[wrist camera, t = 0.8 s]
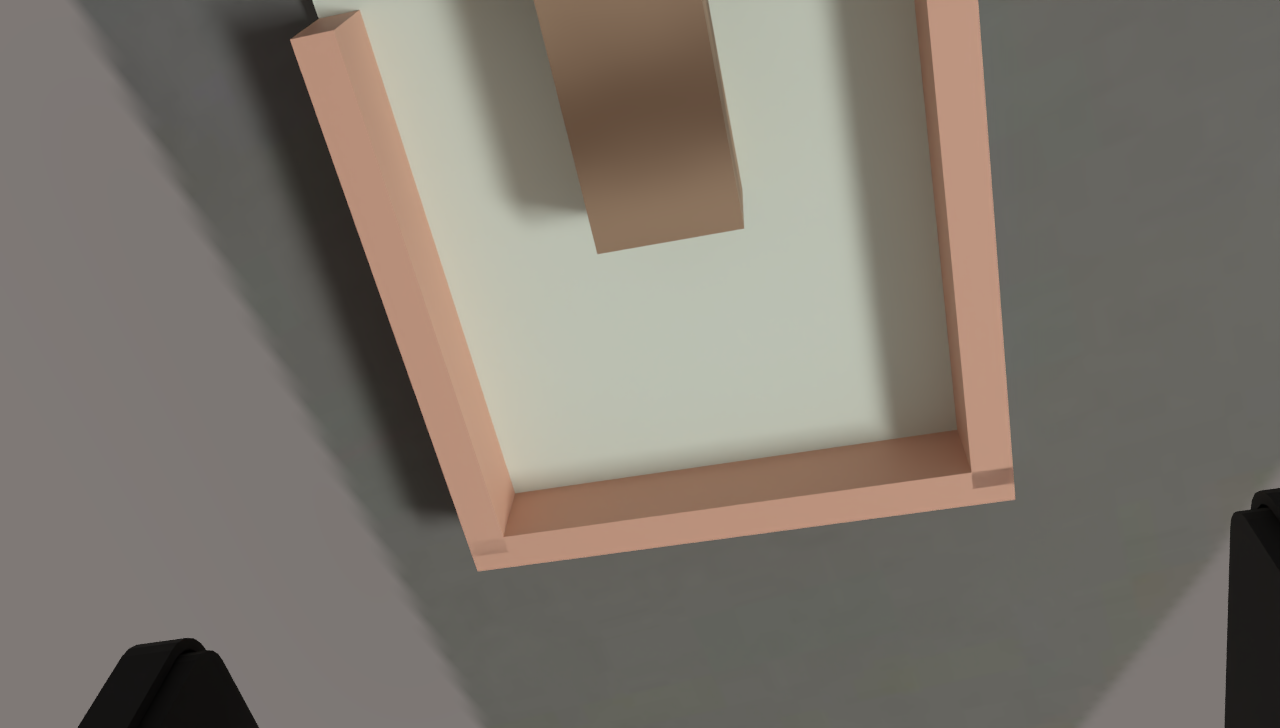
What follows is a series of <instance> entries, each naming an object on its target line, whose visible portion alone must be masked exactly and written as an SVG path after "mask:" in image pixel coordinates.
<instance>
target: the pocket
mask: <svg viewBox="0 0 1280 728" xmlns="http://www.w3.org/2000/svg"><path fill="white" fill-rule="evenodd" d="M914 3H915V13H916V23H917V33H918V43H919V53H920V63H921V73H922V83H923V93H924V103H925V113H926V123H927V133H928V143H929V153H930V163H931V173H932V183H933V193H934V203H935V213H936V223H937V233H938V243H939V253H940V263H941V273H942V283H943V293H944V303H945V313H946V323H947V333H948V343H949V353H950V363H951V373H952V383H953V393H954V403H955V413H956V423H957V430H952V431H945V432H938V433H931V434H925V435H918V436H911V437H904V438H897V439H890V440H883V441H876V442H869V443H862V444H855V445H848V446H841V447H834V448H827V449H820V450H813V451H806V452H799V453H793V454H786V455H779V456H772V457H765V458H758V459H751V460H744V461H737V462H730V463H723V464H716V465H709V466H702V467H695V468H688V469H681V470H674V471H667V472H661V473H654V474H647V475H640V476H633V477H626V478H619V479H612V480H605V481H598V482H591V483H584V484H577V485H570V486H563V487H556V488H549V489H542V490H535V491H529V492H522V493H515V491H514V488H513V485H512V482H511V479H510V476H509V473H508V469H507V466H506V463H505V460H504V457H503V454H502V451H501V448H500V445H499V441H498V438H497V435H496V432H495V429H494V426H493V423H492V420H491V417H490V413H489V410H488V407H487V404H486V401H485V398H484V395H483V392H482V388H481V385H480V382H479V379H478V376H477V373H476V370H475V367H474V364H473V360H472V357H471V354H470V351H469V348H468V345H467V342H466V339H465V336H464V332H463V329H462V326H461V323H460V320H459V317H458V314H457V311H456V308H455V304H454V301H453V298H452V295H451V292H450V289H449V286H448V283H447V280H446V276H445V273H444V270H443V267H442V264H441V261H440V258H439V255H438V252H437V248H436V245H435V242H434V239H433V236H432V233H431V230H430V227H429V224H428V220H427V217H426V214H425V211H424V208H423V205H422V202H421V199H420V196H419V192H418V189H417V186H416V183H415V180H414V177H413V174H412V171H411V168H410V164H409V161H408V158H407V155H406V152H405V149H404V146H403V143H402V140H401V136H400V133H399V130H398V127H397V124H396V121H395V118H394V115H393V112H392V108H391V105H390V102H389V99H388V96H387V93H386V90H385V87H384V84H383V80H382V77H381V74H380V71H379V68H378V65H377V62H376V59H375V56H374V52H373V49H372V46H371V43H370V40H369V37H368V34H367V31H366V28H365V24H364V21H363V18H362V15H361V12H360V10H357V11H353V12H348V13H343V14H339V15H334V16H329V17H325V18H320V19H318V20H316V21H315V22H314V23H312V24H311V25H309V26H308V27H307V28H305V29H304V30H302V31H301V32H300V33H298V34H297V35H295V36H294V37H293V38H291V39H290V41H291V44H292V47H293V50H294V53H295V56H296V58H297V61H298V64H299V67H300V70H301V73H302V75H303V78H304V81H305V84H306V87H307V90H308V92H309V95H310V98H311V101H312V104H313V107H314V109H315V112H316V115H317V118H318V121H319V124H320V126H321V129H322V132H323V135H324V138H325V141H326V143H327V146H328V149H329V152H330V155H331V157H332V160H333V163H334V166H335V169H336V172H337V174H338V177H339V180H340V183H341V186H342V189H343V191H344V194H345V197H346V200H347V203H348V206H349V208H350V211H351V214H352V217H353V220H354V223H355V225H356V228H357V231H358V234H359V237H360V240H361V242H362V245H363V248H364V251H365V254H366V256H367V259H368V262H369V265H370V268H371V271H372V273H373V276H374V279H375V282H376V285H377V288H378V290H379V293H380V296H381V299H382V302H383V305H384V307H385V310H386V313H387V316H388V319H389V322H390V324H391V327H392V330H393V333H394V336H395V339H396V341H397V344H398V347H399V350H400V353H401V356H402V358H403V361H404V364H405V367H406V370H407V372H408V375H409V378H410V381H411V384H412V387H413V389H414V392H415V395H416V398H417V401H418V404H419V406H420V409H421V412H422V415H423V418H424V421H425V423H426V426H427V429H428V432H429V435H430V438H431V440H432V443H433V446H434V449H435V452H436V455H437V457H438V460H439V463H440V466H441V469H442V471H443V474H444V477H445V480H446V483H447V486H448V488H449V491H450V494H451V497H452V500H453V503H454V505H455V508H456V511H457V514H458V517H459V520H460V522H461V525H462V528H463V531H464V534H465V537H466V539H467V542H468V545H469V548H470V551H471V554H472V556H473V559H474V562H475V565H476V568H477V571H484V570H492V569H499V568H507V567H514V566H522V565H529V564H537V563H544V562H552V561H559V560H567V559H574V558H582V557H589V556H597V555H604V554H612V553H619V552H627V551H634V550H642V549H649V548H657V547H664V546H671V545H679V544H686V543H694V542H701V541H709V540H716V539H724V538H731V537H739V536H746V535H754V534H761V533H769V532H776V531H784V530H791V529H799V528H806V527H814V526H821V525H829V524H836V523H844V522H851V521H858V520H866V519H873V518H881V517H888V516H896V515H903V514H911V513H918V512H926V511H933V510H941V509H948V508H956V507H963V506H971V505H978V504H986V503H993V502H1001V501H1008V500H1015V489H1014V476H1013V463H1012V449H1011V436H1010V422H1009V409H1008V396H1007V382H1006V369H1005V355H1004V342H1003V329H1002V315H1001V302H1000V288H999V275H998V262H997V248H996V235H995V222H994V208H993V195H992V181H991V168H990V155H989V141H988V128H987V114H986V101H985V88H984V74H983V61H982V47H981V34H980V21H979V7H978V0H914Z"/></svg>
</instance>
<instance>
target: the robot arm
mask: <svg viewBox="0 0 1280 728" xmlns="http://www.w3.org/2000/svg"><path fill="white" fill-rule="evenodd" d="M1229 561H1230V562H1229V594H1228V595H1229V596H1228V629H1227V630H1228V631H1227V665H1226V666H1227V667H1226V697H1225V728H1280V488H1277V489H1270V490H1262V491H1259V492H1257V493H1255V495H1254V497H1253V499H1252V504H1251V510H1245V511H1237V512H1235V513H1234V514H1233V516H1232V518H1231V526H1230V560H1229ZM78 728H259V727H258V725H257V723H256V721H255V720H254V718H253V716H252V714H251V712H250V710H249V708H248V707H247V705H246V703H245V701H244V699H243V697H242V695H241V694H240V692H239V690H238V688H237V686H236V684H235V683H234V681H233V679H232V677H231V675H230V673H229V671H228V669H227V668H226V666H225V664H224V662H223V660H222V659H221V658H220V656H219V655H218V654H217V653H216V652H214V651H206V650H205V648H204V647H203V645H202V644H201V643H200V642H198V641H197V640H195V639H193V638H183V639H176V640H169V641H162V642H154V643H147V644H140V645H136V646H134V647H132V648H130V649H128V650H127V651H126V653H125V654H124V655H123V656H122V657H121V659H120V661H119V662H118V664H117V665H116V667H115V669H114V670H113V672H112V673H111V675H110V677H109V678H108V680H107V682H106V683H105V685H104V686H103V688H102V689H101V691H100V693H99V694H98V696H97V697H96V699H95V701H94V702H93V704H92V706H91V707H90V709H89V710H88V712H87V714H86V715H85V717H84V718H83V720H82V722H81V723H80V725H79V726H78Z"/></svg>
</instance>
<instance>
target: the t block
mask: <svg viewBox="0 0 1280 728" xmlns="http://www.w3.org/2000/svg"><path fill="white" fill-rule="evenodd" d="M534 4H535V8H536V12H537V16H538V20H539V24H540V28H541V32H542V36H543V40H544V44H545V48H546V52H547V56H548V60H549V64H550V68H551V72H552V76H553V80H554V84H555V88H556V92H557V96H558V100H559V104H560V108H561V112H562V115H563V119H564V123H565V127H566V131H567V135H568V139H569V143H570V147H571V151H572V155H573V159H574V163H575V167H576V171H577V175H578V179H579V183H580V187H581V191H582V195H583V199H584V203H585V207H586V211H587V215H588V219H589V223H590V227H591V231H592V235H593V239H594V243H595V247H596V251H597V254H602V253H608V252H614V251H619V250H625V249H631V248H636V247H642V246H648V245H653V244H659V243H665V242H671V241H676V240H682V239H688V238H693V237H699V236H705V235H710V234H716V233H722V232H728V231H733V230H739V229H744V213H743V191H742V184H741V179H740V173H739V168H738V162H737V157H736V151H735V146H734V140H733V135H732V129H731V124H730V118H729V113H728V107H727V102H726V96H725V91H724V85H723V80H722V74H721V69H720V63H719V58H718V52H717V47H716V41H715V36H714V30H713V25H712V19H711V14H710V8H709V3H708V0H534Z"/></svg>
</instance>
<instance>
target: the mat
mask: <svg viewBox="0 0 1280 728" xmlns="http://www.w3.org/2000/svg"><path fill="white" fill-rule="evenodd" d="M312 1H313V4H314V7H315V10H316V13H317V16H318V18H319V19H320V18H325V17H329V16H334V15H339V14H343V13H348V12H353V11H357V10H360V12H361V15H362V18H363V21H364V24H365V28H366V31H367V34H368V37H369V40H370V43H371V46H372V49H373V52H374V56H375V59H376V62H377V65H378V68H379V71H380V74H381V77H382V80H383V84H384V87H385V90H386V93H387V96H388V99H389V102H390V105H391V108H392V112H393V115H394V118H395V121H396V124H397V127H398V130H399V133H400V136H401V140H402V143H403V146H404V149H405V152H406V155H407V158H408V161H409V164H410V168H411V171H412V174H413V177H414V180H415V183H416V186H417V189H418V192H419V196H420V199H421V202H422V205H423V208H424V211H425V214H426V217H427V220H428V224H429V227H430V230H431V233H432V236H433V239H434V242H435V245H436V248H437V252H438V255H439V258H440V261H441V264H442V267H443V270H444V273H445V276H446V280H447V283H448V286H449V289H450V292H451V295H452V298H453V301H454V304H455V308H456V311H457V314H458V317H459V320H460V323H461V326H462V329H463V332H464V336H465V339H466V342H467V345H468V348H469V351H470V354H471V357H472V360H473V364H474V367H475V370H476V373H477V376H478V379H479V382H480V385H481V388H482V392H483V395H484V398H485V401H486V404H487V407H488V410H489V413H490V417H491V420H492V423H493V426H494V429H495V432H496V435H497V438H498V441H499V445H500V448H501V451H502V454H503V457H504V460H505V463H506V466H507V469H508V473H509V476H510V479H511V482H512V485H513V488H514V491H515V493H522V492H529V491H535V490H542V489H549V488H556V487H563V486H570V485H577V484H584V483H591V482H598V481H605V480H612V479H619V478H626V477H633V476H640V475H647V474H654V473H661V472H667V471H674V470H681V469H688V468H695V467H702V466H709V465H716V464H723V463H730V462H737V461H744V460H751V459H758V458H765V457H772V456H779V455H786V454H793V453H799V452H806V451H813V450H820V449H827V448H834V447H841V446H848V445H855V444H862V443H869V442H876V441H883V440H890V439H897V438H904V437H911V436H918V435H925V434H931V433H938V432H945V431H952V430H957V423H956V413H955V403H954V393H953V383H952V373H951V363H950V353H949V343H948V333H947V323H946V313H945V303H944V293H943V283H942V273H941V263H940V253H939V243H938V233H937V223H936V213H935V203H934V193H933V183H932V173H931V163H930V153H929V143H928V133H927V123H926V113H925V103H924V93H923V83H922V73H921V63H920V53H919V43H918V33H917V23H916V13H915V3H914V0H708V3H709V8H710V14H711V19H712V25H713V30H714V36H715V41H716V47H717V52H718V58H719V63H720V69H721V74H722V80H723V85H724V91H725V96H726V102H727V107H728V113H729V118H730V124H731V129H732V135H733V140H734V146H735V151H736V157H737V162H738V168H739V173H740V179H741V184H742V191H743V213H744V229H739V230H733V231H728V232H722V233H716V234H710V235H705V236H699V237H693V238H688V239H682V240H676V241H671V242H665V243H659V244H653V245H648V246H642V247H636V248H631V249H625V250H619V251H614V252H608V253H602V254H597V251H596V247H595V243H594V239H593V235H592V231H591V227H590V223H589V219H588V215H587V211H586V207H585V203H584V199H583V195H582V191H581V187H580V183H579V179H578V175H577V171H576V167H575V163H574V159H573V155H572V151H571V147H570V143H569V139H568V135H567V131H566V127H565V123H564V119H563V115H562V112H561V108H560V104H559V100H558V96H557V92H556V88H555V84H554V80H553V76H552V72H551V68H550V64H549V60H548V56H547V52H546V48H545V44H544V40H543V36H542V32H541V28H540V24H539V20H538V16H537V12H536V8H535V4H534V0H312Z"/></svg>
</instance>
